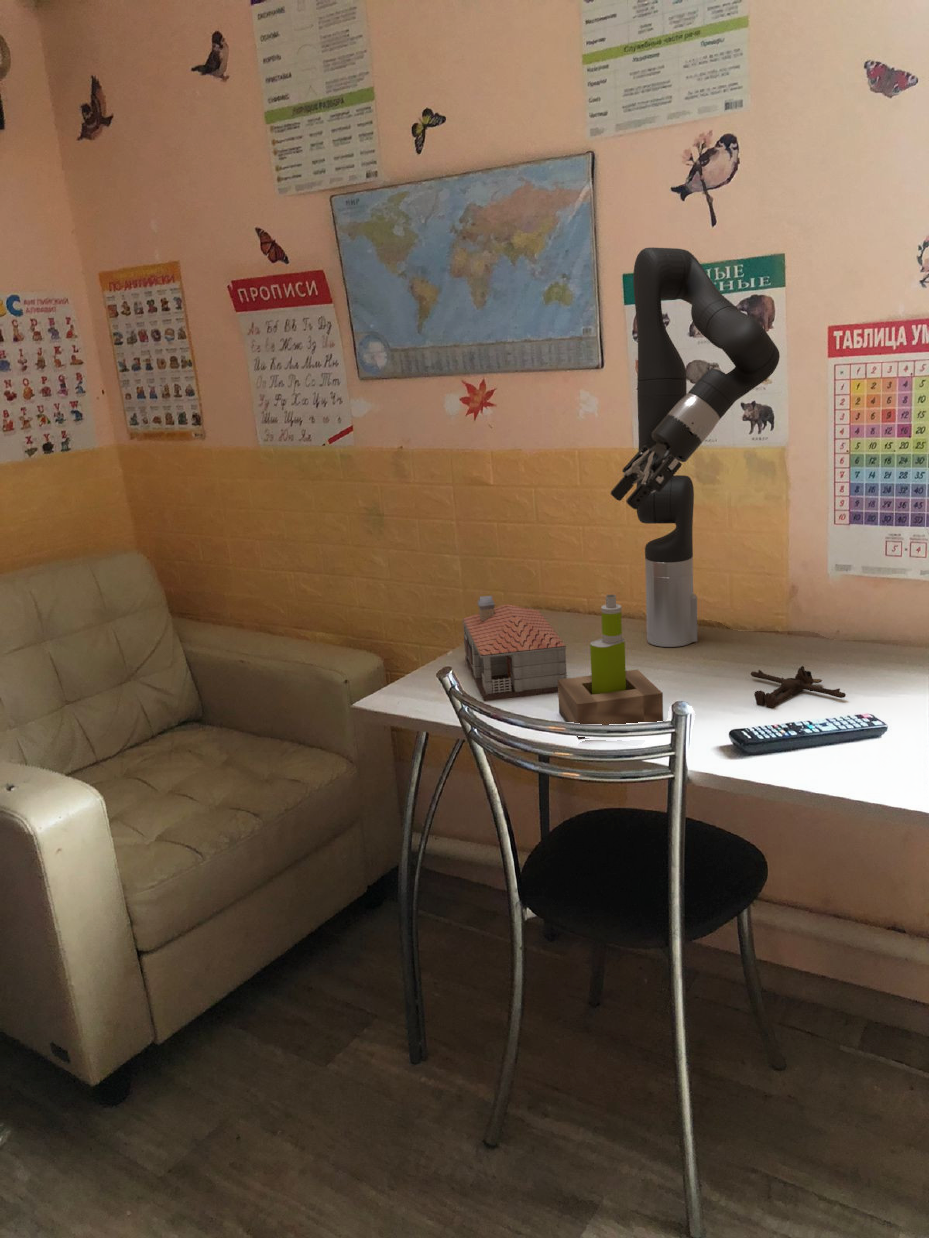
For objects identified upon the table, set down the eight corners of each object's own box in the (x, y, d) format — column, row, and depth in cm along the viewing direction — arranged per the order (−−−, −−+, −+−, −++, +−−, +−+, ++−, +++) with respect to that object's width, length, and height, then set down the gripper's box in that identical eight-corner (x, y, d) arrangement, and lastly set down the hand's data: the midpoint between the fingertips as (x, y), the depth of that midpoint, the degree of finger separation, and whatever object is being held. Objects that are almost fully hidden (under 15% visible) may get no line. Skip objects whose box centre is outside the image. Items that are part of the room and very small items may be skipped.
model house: (464, 661, 205) (458, 588, 201) (541, 652, 207) (537, 580, 202) (482, 702, 182) (476, 622, 178) (568, 692, 184) (564, 612, 180)
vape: (631, 712, 170) (628, 595, 164) (604, 722, 166) (600, 603, 161) (615, 706, 173) (611, 591, 167) (589, 716, 169) (584, 599, 164)
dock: (638, 702, 176) (637, 669, 175) (663, 728, 165) (662, 693, 163) (559, 712, 174) (557, 679, 173) (578, 739, 163) (577, 704, 161)
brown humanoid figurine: (717, 680, 176) (765, 651, 185) (718, 703, 178) (766, 673, 186) (812, 704, 163) (859, 671, 172) (813, 729, 165) (860, 695, 173)
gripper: (655, 409, 179) (594, 481, 180) (686, 416, 165) (619, 494, 167) (685, 437, 181) (624, 508, 183) (718, 446, 167) (652, 523, 169)
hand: (622, 501), depth 175 cm, fingers open, 8 cm apart
